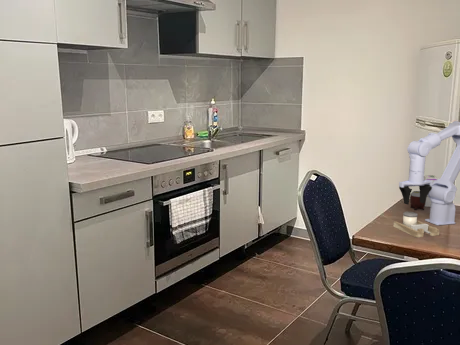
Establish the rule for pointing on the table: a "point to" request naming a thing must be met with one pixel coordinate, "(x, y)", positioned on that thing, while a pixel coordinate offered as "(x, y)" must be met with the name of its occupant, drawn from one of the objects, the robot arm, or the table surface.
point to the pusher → (421, 227)
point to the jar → (409, 218)
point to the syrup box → (432, 178)
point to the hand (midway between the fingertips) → (414, 203)
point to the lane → (418, 233)
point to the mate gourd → (416, 201)
